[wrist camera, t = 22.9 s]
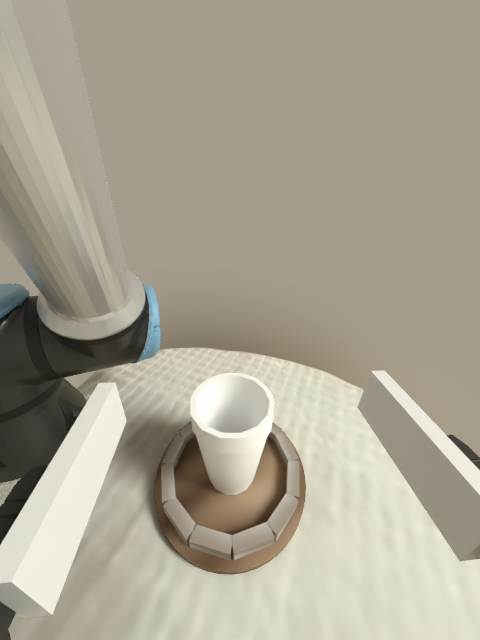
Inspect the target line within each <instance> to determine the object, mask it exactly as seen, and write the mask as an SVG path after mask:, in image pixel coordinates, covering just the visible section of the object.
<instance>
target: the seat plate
mask: <svg viewBox="0 0 480 640" xmlns="http://www.w3.org/2000/svg"><path fill="white" fill-rule="evenodd" d="M305 491H306V485H305V475H304V470H303V466H302V463H301V460H300V457H299V455H298V453H297V451H296V449H295V447H294V445H293V444H292V442H291V441H290V440H289V438H288V437H287V436H286V434H285V432H283V431H282V429H281V428H280V427H278V426H277V425H275V424H274V423H273V422H272V429H271V432H270V433H269V435H268V436H267V439H266V442H265V446H264V449H263V452H262V455H261V458H260V461H259V464H258V467H257V470H256V473H255V476H254V478H253V481H252V482H251V484H250V485H249V487H248V488H247V489H246V490H245V491H243V492H241V493H239V494H237V495H225V494H223V493H222V492H220V491H218V490H216V489H215V487H214V486H213V484H212V483H211V481H210V479H209V476H208V473H207V470H206V467H205V463H204V460H203V457H202V454H201V450H200V447H199V444H198V441H197V437H196V435H195V433H194V432H193V431H192V422H191V423H189V424H188V425H187V426H186V427H184V428H183V429H182V430H180V431H179V433H178V434H176V436H175V438H174V439H173V440H172V442H171V443H170V444H169V446H168V448H167V449H166V451H165V453H164V455H163V457H162V459H161V462H160V465H159V468H158V471H157V476H156V482H155V503H156V508H157V513H158V517H159V520H160V523H161V526H162V529H163V531H164V533H165V535H166V537H167V539H168V540H169V542H170V543H171V544H172V546H173V547H174V548H175V550H176V551H177V552H178V553H179V554H180V555H181V556H182V557H183V558H184V559H186V560H187V561H189V562H190V563H192V564H193V565H195V566H197V567H199V568H201V569H204V570H206V571H209V572H213V573H218V574H238V573H245V572H248V571H251V570H254V569H257V568H259V567H260V566H262V565H264V564H266V563H268V562H269V561H270V560H272V559H273V558H274V557H275V556H277V555H278V554H279V553H280V552H281V551H282V550H283V549H284V547H285V546H286V545H287V544H288V542H289V541H290V539H291V538H292V536H293V535H294V533H295V531H296V528H297V526H298V524H299V521H300V518H301V515H302V511H303V508H304V502H305Z"/></svg>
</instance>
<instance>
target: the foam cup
mask: <svg viewBox="0 0 480 640" xmlns="http://www.w3.org/2000/svg"><path fill="white" fill-rule="evenodd" d="M274 404H275V400H274V398H273V396H272V394H271V392H270V390H269V388H268V387H267V386H266V385H264V384H263V383H262V382H261V381H259V380H258V379H257V378H254V377H251V376H248V375H245V374H242V373H224V374H220V375H217V376H214V377H210V378H208V379H207V380H206V381H204V382H203V383H202V384H200V385H199V386H198V387H197V388H196V390H195V392H194V393H193V395H192V397H191V399H190V410H191V421H192V431H193V432H194V433H195V435H196V437H197V441H198V444H199V447H200V450H201V454H202V457H203V460H204V463H205V467H206V470H207V473H208V476H209V479H210V481H211V483H212V484H213V486H214V487H215V489H216V490H218V491H220V492H222V493H223V494H225V495H237V494H239V493H241V492H243V491H245V490H246V489H247V488H248V487H249V485H250V484H251V482H252V481H253V478H254V476H255V473H256V470H257V467H258V464H259V461H260V458H261V455H262V452H263V449H264V446H265V442H266V439H267V436H268V435H269V433H270V432H271V429H272V421H273V413H274Z"/></svg>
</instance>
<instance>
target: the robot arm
mask: <svg viewBox="0 0 480 640" xmlns="http://www.w3.org/2000/svg"><path fill="white" fill-rule="evenodd" d="M0 238H1V239H2V241H3V242H4V243H5V245H6V246H7V247H8V249H9V250H10V251H11V253H12V254H13V256H14V257H15V258H16V259H17V261H18V262H19V264H20V265H21V266H22V268H23V269H24V270H25V272H26V273H27V274H28V276H29V277H30V278H31V280H32V281H33V283H34V284H35V285H36V287H37V288H38V289H39V291H40V293H39V295H38V296H29V291H28V290H26V289H25V288H24V287H23V286H22V285H19V284H0V482H6V481H11V480H15V479H18V478H21V477H22V478H21V479H20V480H19V481H18V482H17V483H16V485H15V486H14V488H13V489H12V491H11V492H10V494H9V495H8V496H7V498H6V499H5V503H4V504H2V505H1V507H0V640H11V639H10V634H9V631H8V628H9V626H10V624H11V622H12V620H13V617H14V615H15V613H16V614H17V615H19V616H20V617H22V618H23V619H26V618H34V617H41V616H49V615H53V612H54V609H55V607H56V604H57V602H58V599H59V596H60V594H61V591H62V589H63V586H64V583H65V581H66V578H67V575H68V573H69V570H70V568H71V565H72V562H73V560H74V557H75V555H76V552H77V549H78V547H79V544H80V542H81V539H82V536H83V534H84V531H85V529H86V526H87V523H88V521H89V518H90V515H91V513H92V510H93V508H94V505H95V502H96V500H97V497H98V495H99V492H100V489H101V487H102V484H103V482H104V479H105V476H106V474H107V471H108V469H109V466H110V463H111V461H112V458H113V455H114V453H115V450H116V448H117V445H118V442H119V440H120V437H121V435H122V432H123V429H124V427H125V424H126V422H127V420H126V417H125V413H124V410H123V406H122V403H121V400H120V396H119V393H118V390H117V386H116V383H115V382H111V383H98V385H97V387H96V388H95V390H94V391H93V393H92V395H91V396H90V398H89V400H88V401H86V399H85V397H84V396H83V395H82V394H81V393H80V392H79V391H78V390H77V389H76V388H75V387H73V386H72V385H71V384H70V383H69V382H68V381H67V380H65V379H64V377H68V376H73V375H77V374H82V373H86V372H91V371H96V370H100V369H105V368H109V367H114V366H119V365H123V364H128V363H137V362H139V361H140V360H144V359H148V358H151V357H153V356H155V355H156V353H157V352H158V350H159V347H160V337H161V336H160V328H159V326H160V317H159V310H158V303H157V299H156V295H155V292H154V290H153V288H152V287H151V286H149V285H144V284H142V283H141V282H140V280H139V279H138V278H137V276H136V275H134V274H133V273H132V272H130V271H129V270H127V267H126V263H125V259H124V254H123V249H122V245H121V241H120V236H119V232H118V227H117V223H116V218H115V214H114V209H113V206H112V201H111V196H110V192H109V187H108V183H107V179H106V174H105V170H104V165H103V161H102V157H101V152H100V148H99V144H98V139H97V135H96V130H95V126H94V122H93V118H92V113H91V108H90V104H89V99H88V95H87V91H86V86H85V82H84V77H83V73H82V69H81V65H80V60H79V55H78V51H77V47H76V42H75V38H74V33H73V29H72V25H71V20H70V16H69V12H68V7H67V3H66V0H0ZM358 409H359V410H360V412H361V413H362V415H363V416H364V418H365V419H366V421H367V422H368V424H369V425H370V427H371V428H372V430H373V431H374V433H375V434H376V436H377V437H378V439H379V440H380V442H381V443H382V445H383V446H384V448H385V449H386V451H387V452H388V454H389V455H390V457H391V458H392V460H393V461H394V463H395V464H396V466H397V467H398V469H399V470H400V472H401V473H402V475H403V476H404V478H405V479H406V481H407V482H408V484H409V485H410V487H411V488H412V490H413V491H414V493H415V494H416V496H417V497H418V499H419V501H420V502H421V504H422V505H423V507H424V508H425V510H426V511H427V513H428V514H429V516H430V517H431V519H432V520H433V522H434V523H435V525H436V526H437V528H438V529H439V531H440V532H441V534H442V535H443V537H444V538H445V540H446V541H447V543H448V544H449V546H450V547H451V549H452V550H453V552H454V553H455V555H456V556H457V558H458V559H459V561H465V560H473V559H480V458H479V457H478V456H477V455H476V454H475V453H474V452H473V451H472V450H471V449H470V448H469V447H468V446H467V445H465V444H464V443H463V442H462V441H460V440H459V439H457V438H456V437H454V436H453V435H445V433H444V432H443V431H441V429H440V428H439V427H438V426H437V425H436V424H435V423H434V422H433V421H432V420H431V419H430V418H429V417H428V416H427V415H426V414H425V413H424V411H423V410H422V409H421V408H420V407H419V406H418V405H417V404H416V403H415V402H414V401H413V400H412V399H411V398H410V397H409V396H408V395H407V394H406V393H405V391H404V390H403V389H402V388H401V387H400V386H398V384H397V383H396V382H395V381H394V380H393V379H392V378H391V377H390V376H389V375H388V374H387V373H386V372H385V371H371V373H370V376H369V379H368V381H367V384H366V387H365V389H364V392H363V394H362V397H361V400H360V402H359V405H358ZM48 464H49V465H48Z"/></svg>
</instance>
